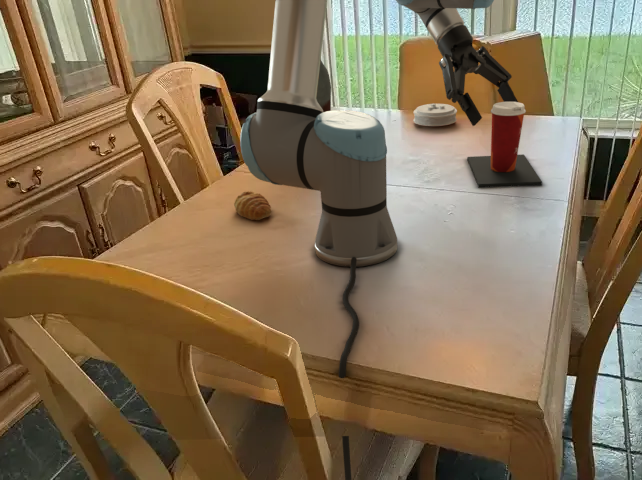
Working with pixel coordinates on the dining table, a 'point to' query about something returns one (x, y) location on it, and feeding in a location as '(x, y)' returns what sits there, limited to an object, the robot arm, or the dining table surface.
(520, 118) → the paper cup
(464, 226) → the dining table surface
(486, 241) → the dining table surface
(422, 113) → the lid
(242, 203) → the pastry
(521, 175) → the dark mat
